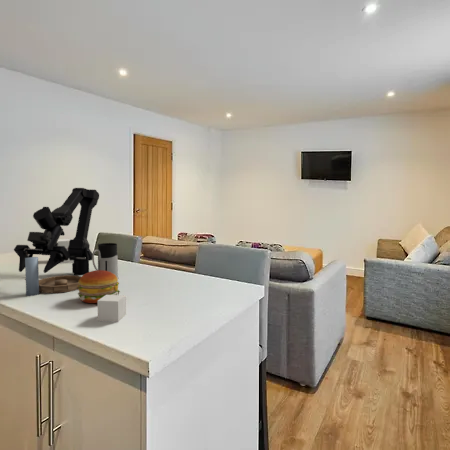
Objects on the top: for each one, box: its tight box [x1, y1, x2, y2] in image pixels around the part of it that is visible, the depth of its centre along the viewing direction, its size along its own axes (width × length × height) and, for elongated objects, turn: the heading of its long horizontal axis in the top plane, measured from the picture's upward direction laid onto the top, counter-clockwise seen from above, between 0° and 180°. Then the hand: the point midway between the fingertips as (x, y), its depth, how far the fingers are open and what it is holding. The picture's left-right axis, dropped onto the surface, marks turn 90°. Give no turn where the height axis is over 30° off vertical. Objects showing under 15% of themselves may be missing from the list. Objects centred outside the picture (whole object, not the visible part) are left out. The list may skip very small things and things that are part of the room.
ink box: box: [57, 238, 74, 264], centre depth 183 cm, size 9×8×12 cm
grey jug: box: [91, 242, 120, 280], centre depth 142 cm, size 9×14×15 cm, turn 164°
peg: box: [24, 256, 40, 297], centre depth 122 cm, size 4×4×13 cm
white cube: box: [96, 294, 127, 323], centre depth 100 cm, size 6×6×6 cm
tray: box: [39, 274, 82, 294], centre depth 133 cm, size 17×17×2 cm
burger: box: [77, 269, 121, 304], centre depth 117 cm, size 14×14×10 cm
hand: (32, 271), depth 122 cm, fingers open, 9 cm apart
